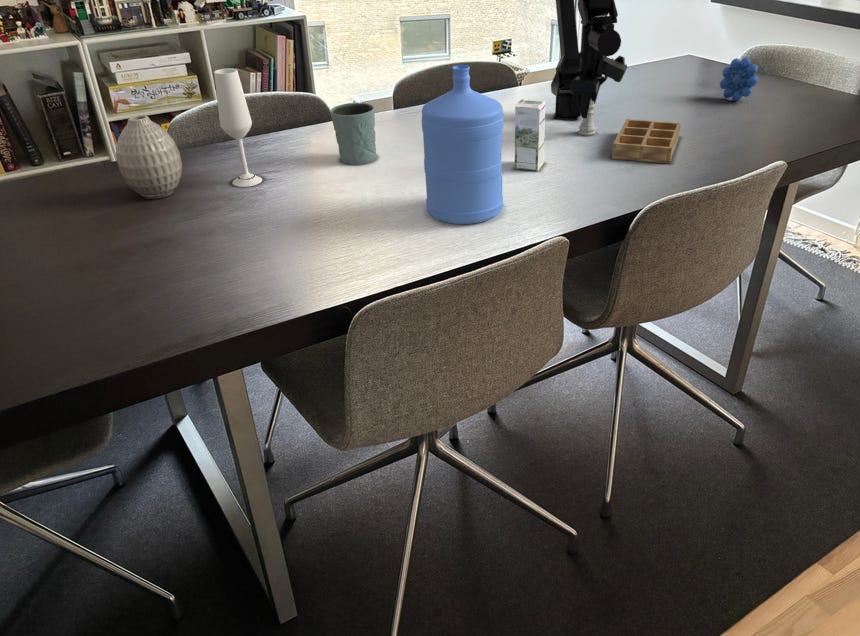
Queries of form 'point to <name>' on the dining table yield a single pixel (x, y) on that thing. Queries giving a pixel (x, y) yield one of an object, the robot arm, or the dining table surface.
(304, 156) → the dining table surface
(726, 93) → the grapes
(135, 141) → the vase
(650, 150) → the rack
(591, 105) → the rook chess piece
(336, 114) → the green embossed cup
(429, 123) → the water jug
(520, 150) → the syrup box
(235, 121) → the champagne flute
